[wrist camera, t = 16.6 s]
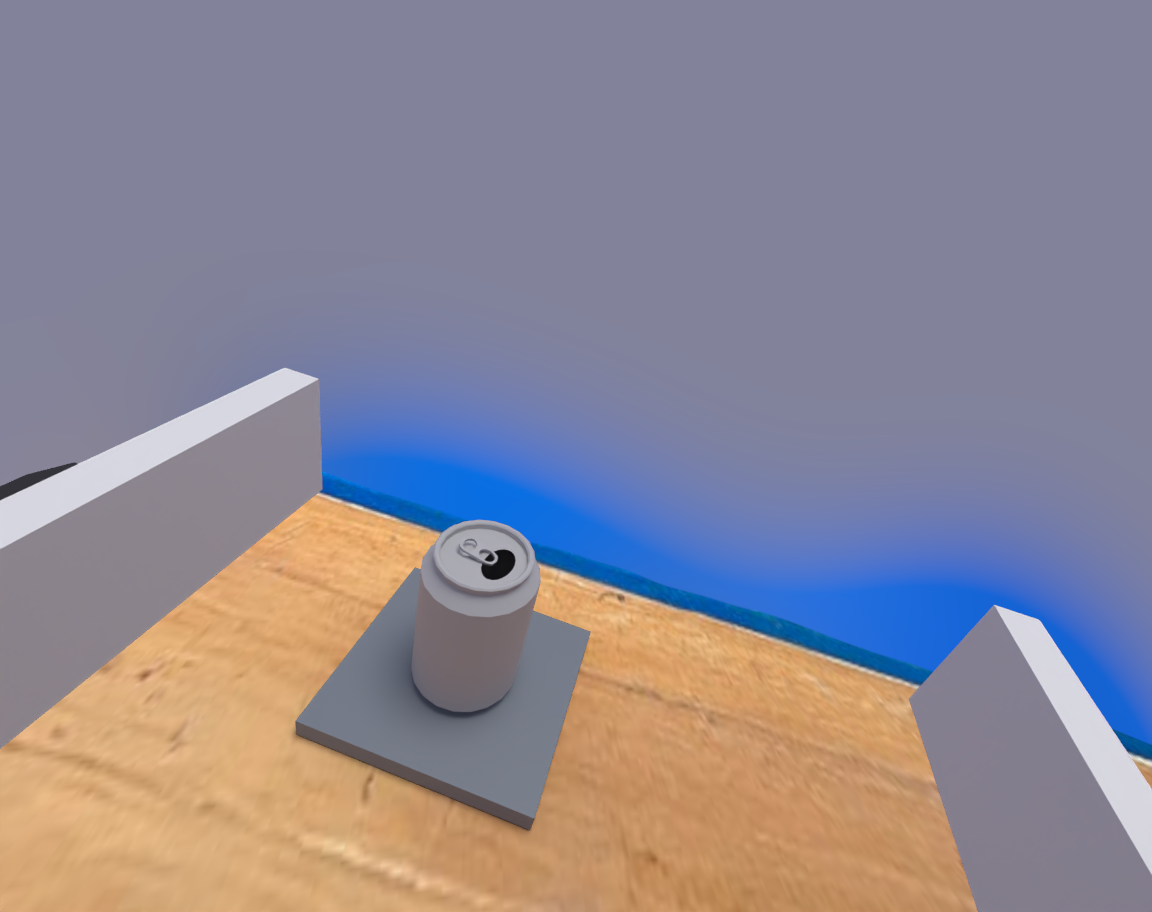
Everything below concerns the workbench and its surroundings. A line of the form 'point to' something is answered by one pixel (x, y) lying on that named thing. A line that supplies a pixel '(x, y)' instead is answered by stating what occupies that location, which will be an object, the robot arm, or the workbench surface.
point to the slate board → (450, 714)
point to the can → (473, 614)
